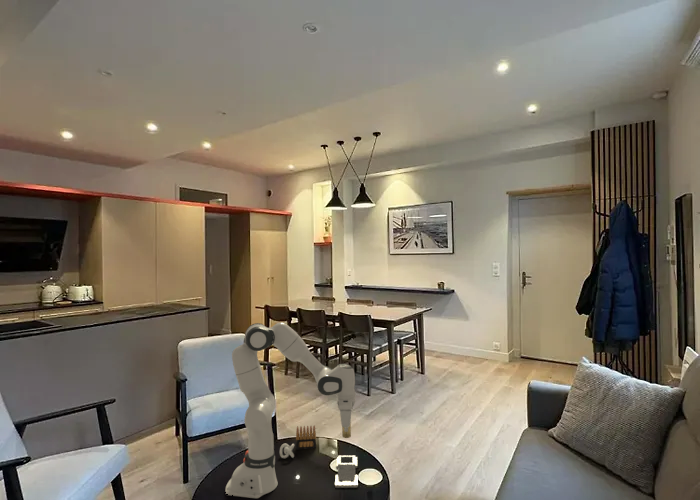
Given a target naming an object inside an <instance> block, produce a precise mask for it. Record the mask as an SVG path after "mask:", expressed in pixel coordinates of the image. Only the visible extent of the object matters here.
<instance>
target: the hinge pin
mask: <svg viewBox="0 0 700 500" xmlns="http://www.w3.org/2000/svg"><path fill="white" fill-rule="evenodd" d="M351 424H352V421H350V427H348V432H345V431H344V427H342V426H341V428H342V438H344V439H350V438H351V436H352V425H351Z"/></svg>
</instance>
